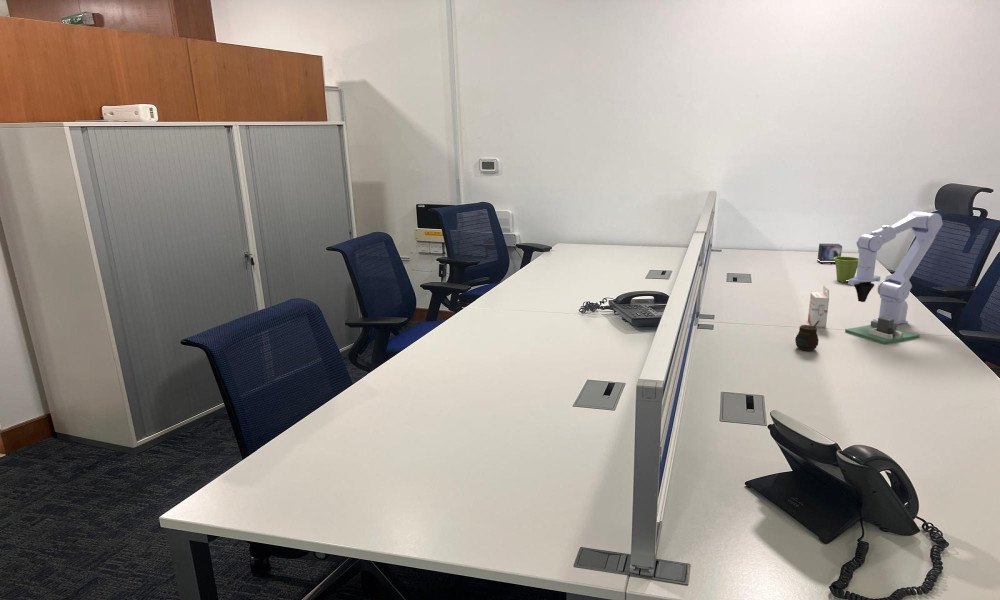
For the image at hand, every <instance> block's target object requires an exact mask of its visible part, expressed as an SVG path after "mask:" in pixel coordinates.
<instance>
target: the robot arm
mask: <svg viewBox="0 0 1000 600" xmlns="http://www.w3.org/2000/svg"><path fill="white" fill-rule="evenodd" d="M942 219H943V218H942V216H941V214H940V213H935V212H934V213H933V212H925V211H919V210H913V211H912V212H910V213H908V214H907V216H906V217H904V218H903V219H901V220H899V221H898V222H896V223H894V224H892V225H886V224H885V225H882V226H881V227H880V228H878V229H876V230H873V231H871V232H870V233H869V234H867V233H863V234H862V235H860V237H858V239H857V241H856V247H857V249H858V250H857V251H858V258H859V259H858V267H857V270H856V274H855V276H854V278H852V279H849V281H848V283H847V284H848V285H850V286H854V289H855V291H856V296H857V301H858V302H860V303H865V302H866V301H867V299H868V297H869V294H870V293H871V291H872V290H873V288H874V287H875V283H873V282H877V283H879V282H880V281H881V275H880V276H879V275H875V269H876V262H877V254H878V251H879V250H880V249H882V247H883V245H884V244H886V243H888V242H891V241H892V240H894V239H895V238H896V237H897V235H898V234H900V233H902V232H905V231H907V230H910V229H911V231H912V233H913V234H914V236H915V240H914V241H913V243H912V244H911V245H910V247H909V249H908V250H907V252H906V254H905V255H904V257H903V258H902V260H901V262H900V264H899V265H898V266H897V268H896V270H895V271H894V273H892V274H888V275H887V276H885V278H884V279H883V280H882V281H881V282H880V283H879V284H878V286H877V290H876V291H877V294H878V295H879V298H880V304H879V310H878V311H879V312H878V318H880V317H886V318H890V319H894V322H895V323H897V325H901V324H905V323H908V322H909V321H908V320H907V314H908V308H909V307H908V306H909V304H908V302H907V301H906V300H907V299H908V298H909V295H910V291H911V289H912V288H913V285H912V283H911V281H910V279H911V277H912V275H913V274H914V273H915V271H916V269H917V267H918V266H919V264H920V263H921V261H922V259H923V258H924V257H925V255H926V253H927V252H928V251H929V248H930V247H931V246H932V244H933V242H934V241H935V238H936V236H937V235H938V232H939V231H940V229H941V228H942V227H943V224H944V223H943V220H942ZM878 318H876V317H874V318H872V321H873V320H877V319H878Z"/></svg>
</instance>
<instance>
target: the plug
mask: <svg viewBox="0 0 1000 600" xmlns="http://www.w3.org/2000/svg"><path fill="white" fill-rule="evenodd" d="M893 325H894V319H890V318H886V317H880V318H879V317H878V323H877V331H879V332H882V333H886V334H892V335H893V337H895V332H896V329H894V328H893Z"/></svg>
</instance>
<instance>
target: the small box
mask: <svg viewBox="0 0 1000 600" xmlns="http://www.w3.org/2000/svg"><path fill="white" fill-rule="evenodd" d="M842 251H843V245H841V244H840V243H818V252H817V259H819V260H820V261H835V259H834V257H842ZM817 261H818V260H816V262H817ZM820 261H818V263H819V264H820V263H835V262H820Z"/></svg>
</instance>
